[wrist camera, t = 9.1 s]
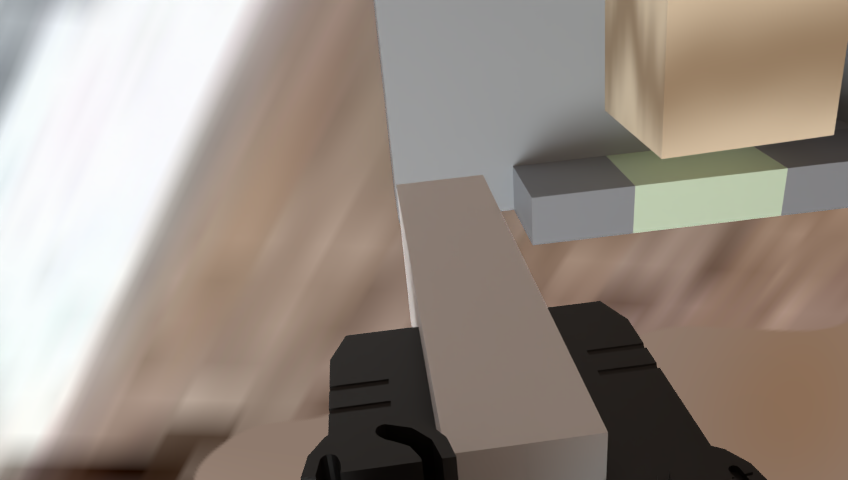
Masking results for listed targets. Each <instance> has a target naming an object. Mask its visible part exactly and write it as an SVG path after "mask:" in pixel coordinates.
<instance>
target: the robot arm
mask: <svg viewBox="0 0 848 480" xmlns="http://www.w3.org/2000/svg"><path fill="white" fill-rule="evenodd" d="M396 187H397V196H398V205H399V215H400V224H401V233H402V242H403V252H404V261H405V270H406V280H407V289H408V298H409V307H410V317H411V324H412V328H404V329H396V330H388V331H380V332H372V333H364V334H356V335H348V336H346V337H345V338H344V340H343V341H342V343H341V344H340V346H339V347H338V349H337V350H336V352H335V354H334V355H333V357H332V358H331V360H330V392H329V412H330V414H329V432H328V436H326V437H325V438H324V439H323V440H322V441H321V442H320V443H319V444H318V446H317V447H316V448H315V449H314V450H313V451H312V452H311V454H309V455H308V457H307V461H306V464H305V467H304V470H303V473H302V476H301V480H767V479H766V478H765V477H764V476H763V475H761V473H760V472H759V471H758V470H757V469H756V468H755V467H754V466H753V465H752V464H751V463H749V462H747V461H746V460H744V459H742V458H740V457H738V456H736V455H734V454H733V453H731V452H729V451H727V450H725V449H721V448H718V447H714V446H711V445H710V444H709V442H708V441H707V439H706V437H705V436H704V434H703V433H702V431H701V430H700V428H699V427H698V425H697V424H696V422H695V421H694V419H693V418H692V416H691V415H690V413H689V412H688V410H687V409H686V407H685V406H684V404H683V403H682V401H681V399H680V398H679V397H678V395H677V393H676V392H675V390H674V389H673V387H672V386H671V384H670V383H669V381H668V380H667V378H666V377H665V375H664V374H663V372H662V371H661V369H660V368H657V365H656V362H655V360H654V358H653V357H652V355H651V354H650V353H649V351H648V349H647V348H644V345H643V342H642V340H641V339H640V337H639V336H638V334H637V333H636V331H635V330H634V328H633V326H632V325H631V323H630V322H629V320H628V319H627V318H625V317H623V316H622V315H620V314H619V313H617V312H616V311H614V310H613V309H611V308H610V307H608V306H607V305H605V304H604V303H602V302H601V301H597V302H589V303H581V304H573V305H565V306H557V307H549V308H547V306H546V304H545V302H544V300H543V298H542V295H541V293H540V291H539V289H538V287H537V285H536V283H535V281H534V279H533V277H532V275H531V273H530V271H529V269H528V267H527V265H526V263H525V260H524V258H523V256H522V254H521V252H520V250H519V248H518V246H517V244H516V242H515V240H514V238H513V236H512V234H511V232H510V230H509V228H508V225H507V223H506V221H505V219H504V217H503V215H502V213H501V211H500V209H499V207H498V205H497V203H496V201H495V199H494V197H493V195H492V193H491V190H490V188H489V186H488V184H487V182H486V180H485V178H484V176H483V175H477V176H468V177H459V178H451V179H442V180H433V181H425V182H416V183H407V184H399V185H396Z"/></svg>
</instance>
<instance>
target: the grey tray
mask: <svg viewBox="0 0 848 480" xmlns="http://www.w3.org/2000/svg"><path fill="white" fill-rule="evenodd" d="M374 8H375V17H376V26H377V35H378V45H379V54H380V63H381V72H382V81H383V90H384V99H385V109H386V118H387V127H388V136H389V145H390V154H391V163H392V173H393V182H394V191H395V199H396V205H397V211H398V218H399V223H400V215H399V205H398V196H397V187H396V185H399V184H407V183H416V182H425V181H433V180H442V179H451V178H459V177H468V176H477V175H483V176H484V178H485V180H486V182H487V184H488V186H489V188H490V190H491V193H492V195H493V197H494V199H495V201H496V203H497V205H498V207H499V209H500V211H506V210H515V212H516V214H517V216H518V218H519V220H520V222H521V224H522V226H523V228H524V229H525V231H526V233H527V235H528V237H529V239H530V241H531V243H532V245H538V244H546V243H555V242H563V241H572V240H580V239H588V238H597V237H605V236H614V235H622V234H630V233H639V232H647V231H656V230H664V229H672V228H681V227H689V226H698V225H706V224H714V223H723V222H731V221H740V220H748V219H756V218H765V217H773V216H781V215H790V214H798V213H807V212H815V211H823V210H832V209H840V208H848V43H847V49H846V56H845V63H844V70H843V77H842V83H841V90H840V97H839V104H838V111H837V118H836V124H835V131H834V135H831V136H824V137H817V138H810V139H802V140H795V141H788V142H781V143H774V144H767V145H760V146H752V147H745V148H738V149H731V150H724V151H717V152H709V153H702V154H695V155H688V156H681V157H674V158H667V159H661V158H660V157H659V156H658V155H656V154H655V153H654V152H653V151H652V150H651V149H649V148H648V147H647V146H646V145H645V144H643V143H642V142H641V141H640V140H639V139H638V138H636V137H635V136H634V135H633V134H632V133H631V132H629V131H628V130H627V129H626V128H625V127H624V126H622V125H621V124H620V123H619V122H618V121H617V120H615V119H614V118H613V117H612V116H611V115H610V114H608V113H607V112H606V111H605V0H374Z"/></svg>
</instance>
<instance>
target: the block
mask: <svg viewBox="0 0 848 480" xmlns="http://www.w3.org/2000/svg"><path fill="white" fill-rule="evenodd" d="M847 43H848V0H605V111H606V112H607V113H608V114H610V115H611V116H612V117H613V118H614V119H615V120H617V121H618V122H619V123H620V124H621V125H622V126H624V127H625V128H626V129H627V130H628V131H629V132H631V133H632V134H633V135H634V136H635V137H636V138H638V139H639V140H640V141H641V142H642V143H643V144H645V145H646V146H647V147H648V148H649V149H651V150H652V151H653V152H654V153H655V154H656V155H658V156H659V157H660V158H661V159H667V158H674V157H681V156H688V155H695V154H702V153H709V152H717V151H724V150H731V149H738V148H745V147H752V146H760V145H767V144H774V143H781V142H788V141H795V140H802V139H810V138H817V137H824V136H831V135H834V131H835V124H836V118H837V111H838V104H839V97H840V90H841V83H842V77H843V70H844V63H845V56H846V49H847Z"/></svg>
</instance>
